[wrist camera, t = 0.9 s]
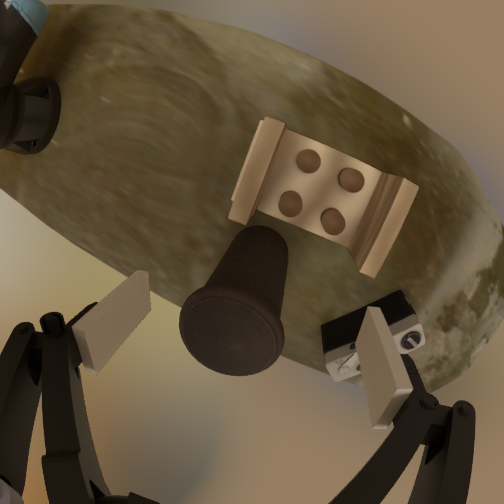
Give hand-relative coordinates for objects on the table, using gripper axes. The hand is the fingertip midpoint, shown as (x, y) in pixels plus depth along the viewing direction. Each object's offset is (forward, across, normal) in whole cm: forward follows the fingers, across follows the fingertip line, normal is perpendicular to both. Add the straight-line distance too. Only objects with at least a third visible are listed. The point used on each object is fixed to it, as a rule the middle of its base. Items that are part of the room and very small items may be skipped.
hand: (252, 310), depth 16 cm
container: (+23, -2, -5) cm, 24 cm away
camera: (+24, +16, -15) cm, 32 cm away
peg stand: (+23, +5, +5) cm, 24 cm away
